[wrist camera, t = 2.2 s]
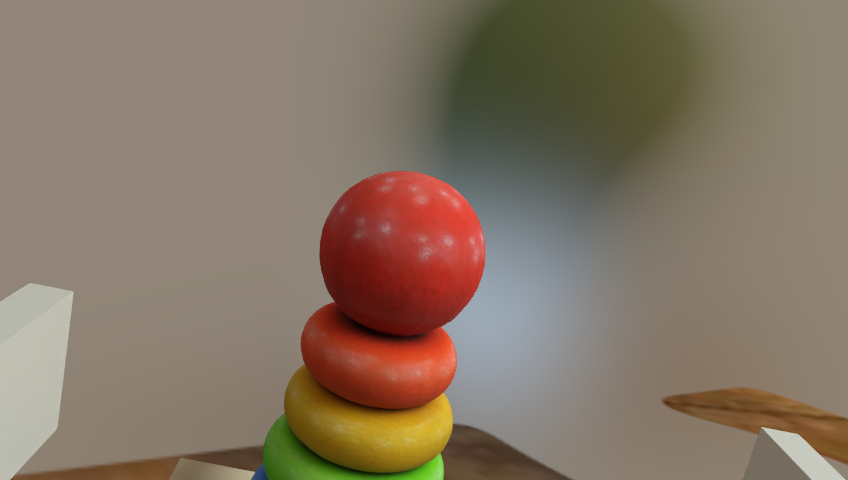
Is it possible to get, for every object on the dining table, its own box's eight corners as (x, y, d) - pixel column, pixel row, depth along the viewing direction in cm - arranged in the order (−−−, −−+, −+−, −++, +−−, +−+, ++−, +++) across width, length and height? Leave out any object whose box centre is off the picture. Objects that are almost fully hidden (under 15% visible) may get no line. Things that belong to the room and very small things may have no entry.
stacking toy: (182, 599, 29) (270, 126, 25) (374, 584, 33) (482, 164, 28) (204, 794, 22) (331, 185, 18) (445, 750, 26) (603, 227, 21)
